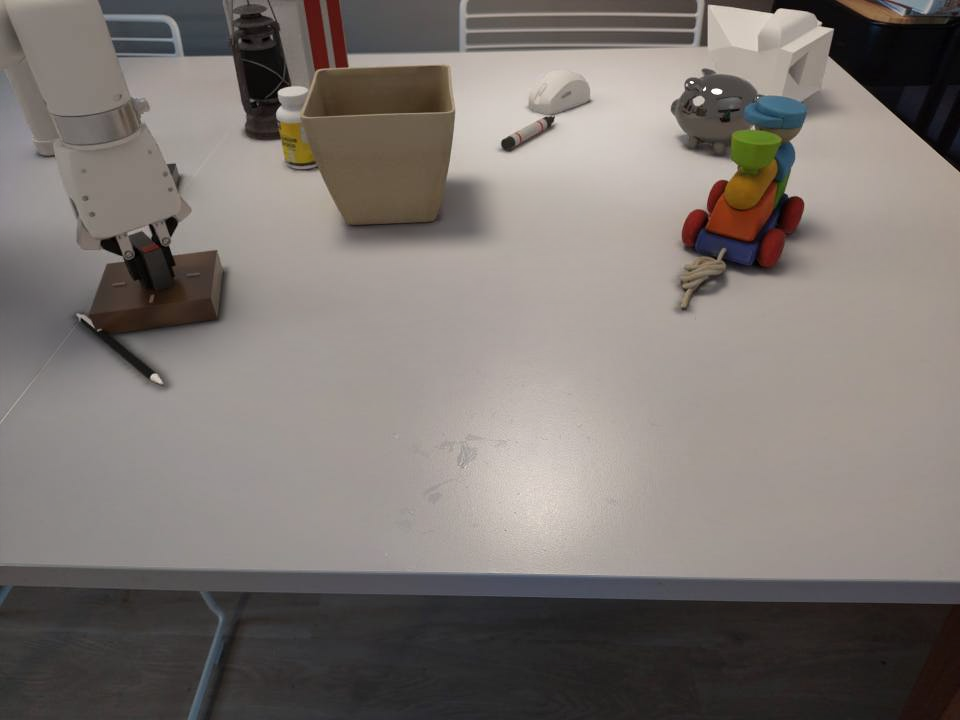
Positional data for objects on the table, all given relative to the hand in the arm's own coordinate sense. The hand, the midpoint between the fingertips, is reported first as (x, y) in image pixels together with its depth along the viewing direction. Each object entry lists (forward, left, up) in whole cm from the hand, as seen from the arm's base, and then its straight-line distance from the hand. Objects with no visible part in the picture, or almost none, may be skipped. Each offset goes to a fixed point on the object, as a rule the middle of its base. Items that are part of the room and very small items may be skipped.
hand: (155, 276), depth 80 cm
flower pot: (+30, +18, -4) cm, 35 cm away
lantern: (+13, +54, -4) cm, 56 cm away
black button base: (-8, +32, -3) cm, 33 cm away
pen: (-4, -8, -4) cm, 10 cm away
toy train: (+71, -6, -4) cm, 71 cm away
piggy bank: (+85, +26, -4) cm, 89 cm away
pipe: (-24, +54, -4) cm, 59 cm away
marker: (+57, +38, -4) cm, 69 cm away
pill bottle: (+18, +37, -4) cm, 41 cm away
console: (0, 0, -3) cm, 3 cm away
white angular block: (+104, +46, -4) cm, 114 cm away
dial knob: (0, 0, 0) cm, 0 cm away
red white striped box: (+18, +75, -4) cm, 77 cm away
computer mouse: (+67, +52, -4) cm, 85 cm away
